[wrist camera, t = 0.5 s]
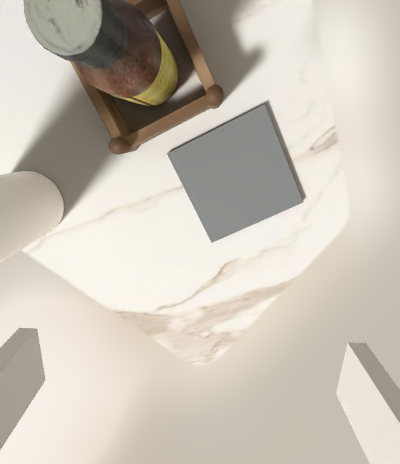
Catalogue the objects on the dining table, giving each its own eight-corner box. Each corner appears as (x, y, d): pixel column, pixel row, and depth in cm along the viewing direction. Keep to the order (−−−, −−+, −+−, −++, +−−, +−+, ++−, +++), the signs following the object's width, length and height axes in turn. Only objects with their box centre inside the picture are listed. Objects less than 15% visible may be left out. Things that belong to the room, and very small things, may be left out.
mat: (167, 153, 36) (167, 153, 36) (263, 104, 34) (264, 104, 34) (211, 241, 39) (211, 242, 39) (302, 201, 37) (303, 202, 37)
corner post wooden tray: (73, 48, 33) (44, 30, 27) (173, -13, 31) (165, -45, 26) (129, 153, 36) (114, 157, 31) (223, 104, 34) (226, 98, 29)
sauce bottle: (177, 41, 33) (129, -84, 14) (182, 105, 35) (147, 72, 16) (116, 47, 33) (-12, -68, 14) (124, 109, 35) (21, 83, 16)
